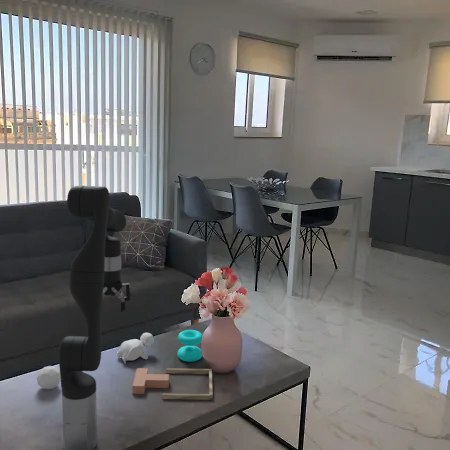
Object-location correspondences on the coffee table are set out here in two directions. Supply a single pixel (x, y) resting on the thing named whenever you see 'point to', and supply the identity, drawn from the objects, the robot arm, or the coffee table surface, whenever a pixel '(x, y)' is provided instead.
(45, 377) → the geometric ball
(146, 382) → the t piece
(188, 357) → the donuts
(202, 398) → the frame
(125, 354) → the white animal figure
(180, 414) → the coffee table surface
